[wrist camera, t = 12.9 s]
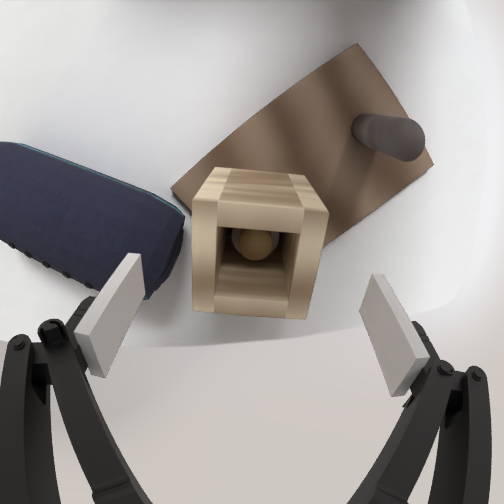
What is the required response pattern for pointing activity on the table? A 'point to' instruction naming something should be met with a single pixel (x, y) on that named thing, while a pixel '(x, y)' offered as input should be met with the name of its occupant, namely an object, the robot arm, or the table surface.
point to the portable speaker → (84, 219)
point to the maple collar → (259, 218)
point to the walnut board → (324, 146)
